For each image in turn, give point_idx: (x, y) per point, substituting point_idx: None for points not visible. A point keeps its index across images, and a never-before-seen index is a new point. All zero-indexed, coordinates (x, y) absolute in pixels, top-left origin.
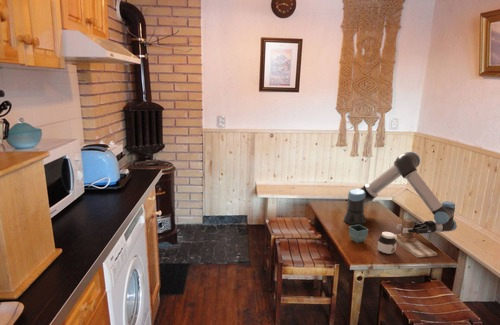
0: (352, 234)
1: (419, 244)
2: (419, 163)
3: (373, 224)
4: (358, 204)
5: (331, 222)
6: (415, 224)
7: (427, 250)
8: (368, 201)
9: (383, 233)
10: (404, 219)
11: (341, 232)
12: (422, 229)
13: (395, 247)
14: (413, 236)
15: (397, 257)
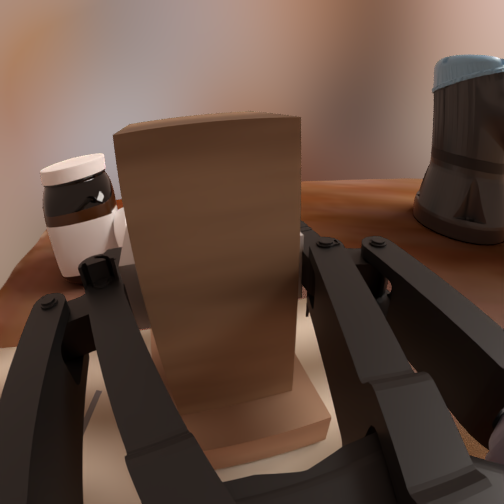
0: None
1: (93, 472)
2: None
3: (490, 268)
4: (441, 109)
5: (394, 186)
6: (370, 358)
7: None
8: None
9: (87, 155)
10: (225, 113)
11: (308, 193)
12: (22, 393)
13: (54, 253)
14: (224, 440)
15: (35, 289)
